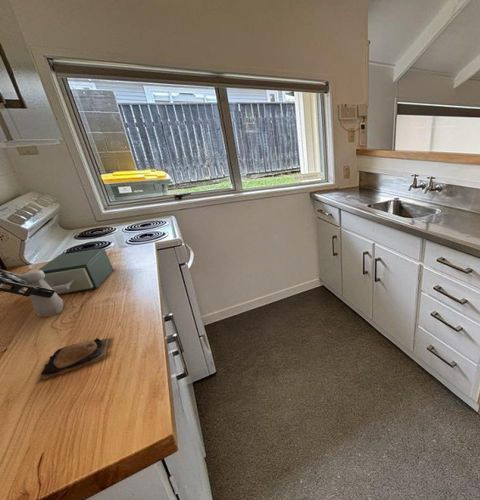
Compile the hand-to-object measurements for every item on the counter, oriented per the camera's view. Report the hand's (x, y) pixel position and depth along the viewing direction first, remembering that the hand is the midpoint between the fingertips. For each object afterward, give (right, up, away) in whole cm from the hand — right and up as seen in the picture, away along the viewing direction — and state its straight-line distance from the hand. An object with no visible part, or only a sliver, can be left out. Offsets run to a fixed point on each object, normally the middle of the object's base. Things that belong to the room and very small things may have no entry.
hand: (48, 290), depth 79 cm
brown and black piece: (+24, -13, -16) cm, 31 cm away
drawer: (-6, -1, +14) cm, 15 cm away
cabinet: (-7, 0, +18) cm, 19 cm away
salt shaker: (-1, -7, +2) cm, 7 cm away
